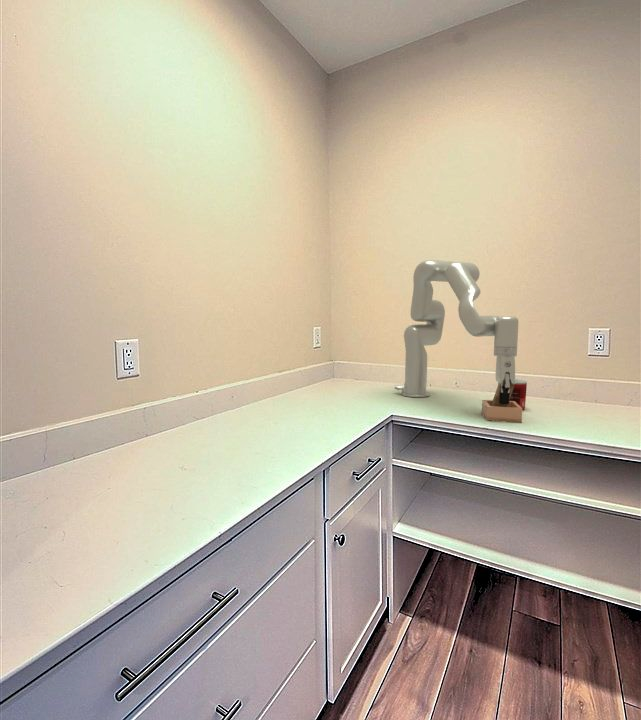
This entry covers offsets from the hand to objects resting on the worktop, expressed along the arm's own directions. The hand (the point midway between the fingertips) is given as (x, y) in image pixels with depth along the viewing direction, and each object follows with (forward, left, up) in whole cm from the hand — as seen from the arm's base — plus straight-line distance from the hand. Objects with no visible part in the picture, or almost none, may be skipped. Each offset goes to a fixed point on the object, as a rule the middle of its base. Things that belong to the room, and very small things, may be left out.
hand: (503, 402), depth 151 cm
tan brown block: (-2, 0, -4) cm, 4 cm away
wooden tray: (0, 0, -6) cm, 6 cm away
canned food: (+8, +16, -6) cm, 19 cm away
